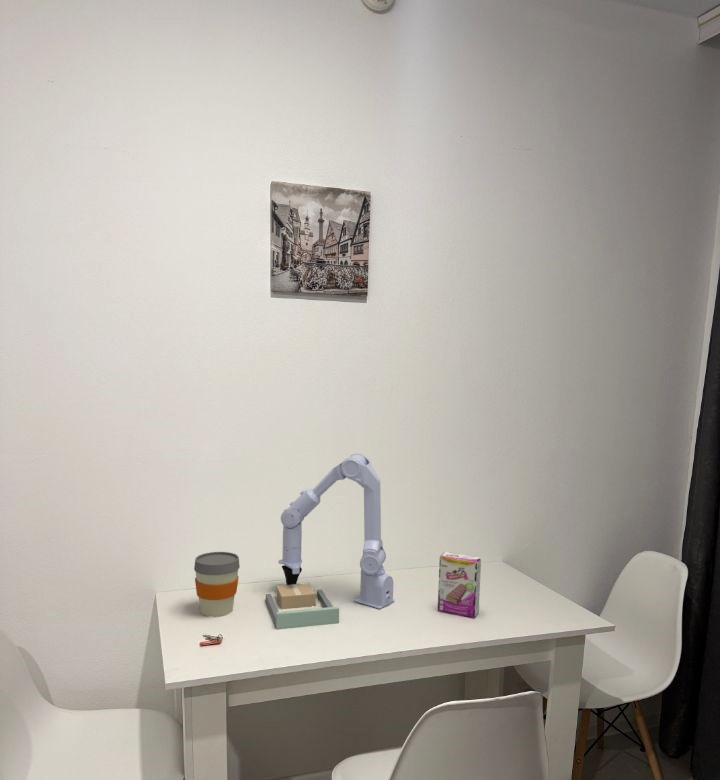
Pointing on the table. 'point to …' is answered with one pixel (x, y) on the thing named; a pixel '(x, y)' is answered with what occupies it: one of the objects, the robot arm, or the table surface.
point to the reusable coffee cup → (216, 582)
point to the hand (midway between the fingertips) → (291, 589)
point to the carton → (296, 596)
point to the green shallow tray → (304, 614)
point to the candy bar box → (459, 584)
